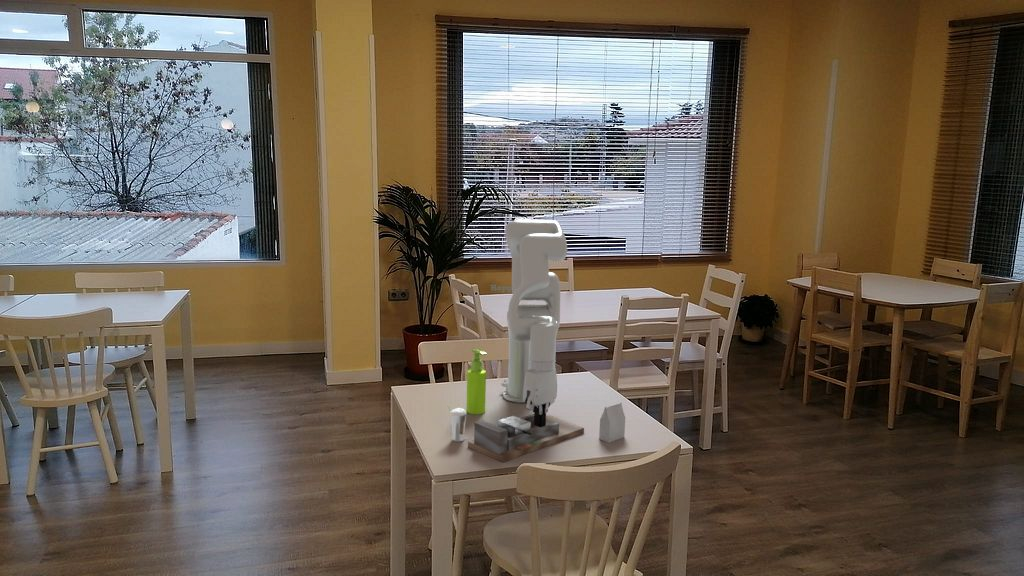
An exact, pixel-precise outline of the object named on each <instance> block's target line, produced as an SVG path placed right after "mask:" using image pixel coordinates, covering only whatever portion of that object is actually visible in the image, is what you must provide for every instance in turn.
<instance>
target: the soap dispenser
mask: <svg viewBox="0 0 1024 576" xmlns="http://www.w3.org/2000/svg"><path fill="white" fill-rule="evenodd" d="M471 353H473V358H472V359H471V361H470V364H471V367H470V369H468V370H467V373H466V380H467V381H466V412H467V414H471V415H482V414H484V413H486V393H487V392H486V390H487V389H486V385H487V383H486V382H487V381H486V380H487V374H486V373H487V370H485V369H483V359H480V356H486V355H488V353H487V352H485V351H484V350H482V349H479V348H476V349H471Z"/></svg>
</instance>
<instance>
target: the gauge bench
mask: <svg viewBox="0 0 1024 576" xmlns="http://www.w3.org/2000/svg"><path fill="white" fill-rule="evenodd" d="M520 418H521V419H524V420H526V421H529V422H531V431H528V432H530V433H532V435H529V434H526V433H522V434H520V435H517V436H514V437H511V438H508V430H506V429H504V428H501V427H499V426H498V424H493V423H491V422H488V421H486V420H484V419H482V420H478V421H475V422H474V428H473V429H474V430H473V431H474V433H473V435H474V436H473V439H472V440H469V441H467V447H468V448H470V449H472V450H474V451H477V452H479V453H481V454H483V455H486V456H488V457H490V458H492V459H495V460H497V461H499V462H501V463H504V462H508V461H510V460H512V459H516V458H518V457H522V456H523V455H526V454H530V453H532V452H535V451H537V450H540V449H544V448H546V447H549V446H551V445H554V444H557V443H559V442H562V441H565V440H568V439H571V438H573V437H576V436H579V435H582V434H584V433H585V427H583V426H580V425H578V424H574V423H572V422H569V421H567V420H564V419H560V418H558V417H555V416H552V415H550V414H549V415H546V426H543V427H538V426H535V425H534V413H533V414H529V415H527V416H523V417H520ZM507 438H508V439H507Z"/></svg>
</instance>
